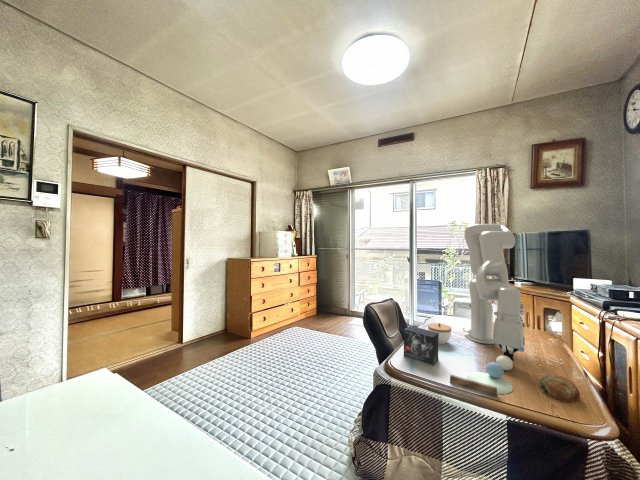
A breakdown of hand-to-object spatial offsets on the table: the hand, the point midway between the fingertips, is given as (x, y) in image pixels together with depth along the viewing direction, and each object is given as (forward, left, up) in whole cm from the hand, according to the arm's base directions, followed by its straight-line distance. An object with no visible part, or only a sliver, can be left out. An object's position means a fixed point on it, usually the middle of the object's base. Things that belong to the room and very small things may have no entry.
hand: (508, 361), depth 107 cm
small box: (-26, -22, -2) cm, 34 cm away
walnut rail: (-2, -30, -2) cm, 30 cm away
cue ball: (0, -6, +1) cm, 6 cm away
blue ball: (0, -15, +1) cm, 15 cm away
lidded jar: (-30, +2, -2) cm, 30 cm away
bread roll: (+17, -10, -2) cm, 20 cm away
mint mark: (0, -21, -2) cm, 21 cm away
